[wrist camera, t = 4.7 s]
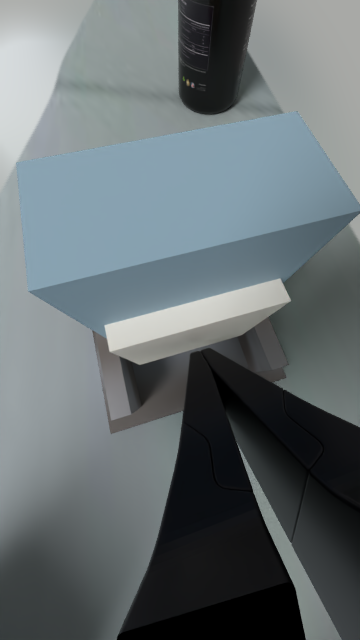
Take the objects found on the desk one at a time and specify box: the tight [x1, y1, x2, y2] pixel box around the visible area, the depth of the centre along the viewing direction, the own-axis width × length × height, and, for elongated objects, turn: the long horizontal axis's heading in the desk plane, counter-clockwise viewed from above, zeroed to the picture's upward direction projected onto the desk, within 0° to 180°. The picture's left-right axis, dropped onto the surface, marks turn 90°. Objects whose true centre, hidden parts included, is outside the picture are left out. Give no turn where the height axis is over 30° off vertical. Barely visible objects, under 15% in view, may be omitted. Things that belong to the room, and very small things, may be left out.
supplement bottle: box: [178, 0, 257, 114], centre depth 18 cm, size 7×7×12 cm
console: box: [92, 317, 289, 434], centre depth 12 cm, size 13×12×8 cm
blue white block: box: [16, 111, 360, 365], centre depth 9 cm, size 4×6×11 cm, turn 106°
